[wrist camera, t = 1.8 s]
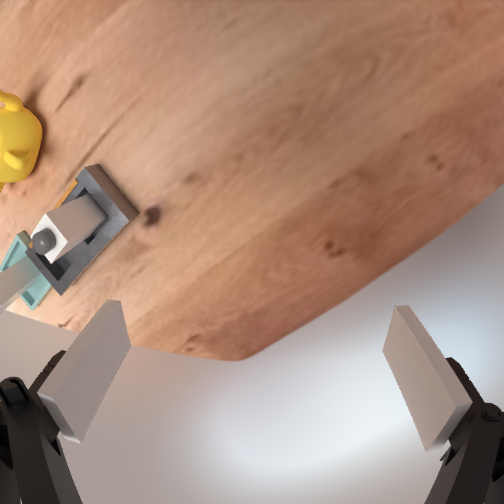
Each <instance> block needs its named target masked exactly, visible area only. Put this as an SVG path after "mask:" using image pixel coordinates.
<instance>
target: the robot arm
mask: <svg viewBox="0 0 504 504" xmlns="http://www.w3.org/2000/svg"><path fill="white" fill-rule="evenodd" d="M130 347H131V344H130V340H129V336H128V332H127V328H126V323H125V319H124V315H123V310H122V306H121V301H115V300H107V301H106V302H105V303H104V304H103V305H102V307H101V308H100V309H99V310H98V312H97V313H96V314H95V315H94V317H93V318H92V319H91V320H90V322H89V323H88V324H87V325H86V327H85V328H84V329H83V330H82V332H81V333H80V334H79V336H78V337H77V338H76V340H75V341H74V342H73V344H72V345H71V346H70V347H69V349H68V350H67V351H64V350H61V351H60V352H59V353H57V354H56V355H54V356H53V357H52V358H51V360H50V361H49V362H48V364H47V366H45V368H44V369H43V372H41V373H40V375H39V376H38V377H37V378H36V380H35V381H34V382H33V384H32V385H31V387H30V388H29V389H27V388H26V386H25V384H24V382H23V381H22V380H21V379H20V378H18V377H9V378H7V379H4V380H3V381H2V382H0V400H1V401H0V504H21V503H20V497H21V501H22V504H83V503H82V501H81V499H80V496H79V494H78V491H77V489H76V487H75V484H74V481H73V479H72V476H71V473H70V471H69V468H68V465H67V462H66V459H65V457H64V453H63V450H62V447H61V444H60V441H59V439H58V437H57V435H58V433H59V431H61V432H62V434H63V435H64V437H65V438H66V439H68V440H71V441H74V442H77V443H82V441H83V439H84V436H85V434H86V432H87V430H88V428H89V426H90V424H91V422H92V420H93V418H94V416H95V414H96V412H97V410H98V408H99V406H100V404H101V402H102V400H103V398H104V396H105V394H106V392H107V390H108V388H109V386H110V384H111V382H112V380H113V379H114V377H115V374H116V373H117V371H118V369H119V367H120V365H121V363H122V362H123V360H124V358H125V356H126V354H127V352H128V350H129V349H130ZM383 353H384V355H385V357H386V359H387V361H388V363H389V366H390V368H391V370H392V372H393V374H394V377H395V379H396V381H397V383H398V386H399V388H400V390H401V392H402V395H403V397H404V399H405V402H406V404H407V406H408V409H409V411H410V413H411V416H412V418H413V421H414V423H415V425H416V428H417V430H418V433H419V435H420V438H421V441H422V443H423V446H424V448H425V451H426V452H429V451H432V450H436V449H439V448H442V447H443V445H444V444H445V443H446V441H447V440H448V439H449V441H450V444H451V446H450V448H449V449H448V450H447V451H446V453H445V454H444V455H443V456H442V458H441V459H440V461H442V460H443V459H444V458H445V459H444V461H443V464H442V466H441V469H440V471H439V473H438V476H437V478H436V480H435V483H434V485H433V487H432V489H431V491H430V493H429V495H428V497H427V500H426V501H425V503H424V504H483V503H484V504H504V412H502V411H501V409H500V408H498V406H496V405H494V404H492V403H485V402H484V401H483V399H482V397H481V396H480V394H479V393H478V391H477V389H476V388H475V387H474V385H473V383H472V382H471V381H470V380H469V377H468V376H467V374H465V371H464V370H463V368H462V367H461V365H460V364H459V363H458V362H457V361H455V360H454V359H453V358H451V357H450V358H445V357H444V356H443V354H442V353H441V351H440V350H439V348H438V347H437V345H436V344H435V342H434V341H433V339H432V338H431V336H430V335H429V334H428V332H427V331H426V329H425V328H424V326H423V325H422V324H421V322H420V321H419V319H418V318H417V317H416V315H415V314H414V312H413V311H412V310H411V308H410V307H409V306H408V305H404V306H395V307H394V311H393V315H392V319H391V323H390V326H389V330H388V334H387V337H386V341H385V345H384V348H383Z"/></svg>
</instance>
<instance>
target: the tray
mask: <svg viewBox="0 0 504 504" xmlns="http://www.w3.org/2000/svg"><path fill="white" fill-rule="evenodd" d="M31 241H32V240H31V239H30V237H29V236H28V235H27V233H26V232H25V231H23V232H21V233H19V234H17V235H16V237H15V239H14V241H13V243H12V245H11V246H10V248H9V250H8V252H7V254H6V256H5V258H4V260H3V262H2V264H1V266H0V271H1V273H2V272H3V271H5V270H6V269H7V268H9V267H10V266H12V265H13V264H15V263H16V262H18V261H19V260H21V259H22V258H24V257H25V256H27V255H26V253H25V251H26V250H27V248H28V246H29V245H30V243H31ZM27 257H28V256H27ZM28 258H29V257H28ZM29 259H30V258H29ZM30 261H31V260H30ZM31 262H32V261H31ZM32 263H33V262H32ZM33 265H34V264H33ZM34 266H35V265H34ZM35 267H36V266H35ZM36 268H37V267H36ZM37 270H38V269H37ZM38 271H39V270H38ZM39 272H40V271H39ZM51 288H52V285H51V284H50V283H49V282H48V281H47V279H46V278H45V277H44V276H43V275H42V273H41V272H40V275H39V276H38V278H37V279H36V281H35V282H34V284H33V285H32V286H31V287H30V288H29V289H28V290H27V291H25V292H24V293H23V294H22V295H21V296H20V297H21V298H22V299H23V301H24V302H25V303H26V304H27V305H28V306H29V308H30V309H31V310H32V311H33V310H34V309H35V308H36V307H37V306H38V305H39V304H40V302H41V301H42V300H43V298H44V297H45V296H46V294H47V293H48V292H49V290H50V289H51Z"/></svg>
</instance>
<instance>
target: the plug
mask: <svg viewBox="0 0 504 504" xmlns="http://www.w3.org/2000/svg"><path fill="white" fill-rule="evenodd" d="M39 275H40V272H39V271H38V270H37V268H36V267H35V266H34V265H33V263H32V262H31V261H30V259H29V258H28V257H27V256H25V257H24V258H22V259H21V260H19V261H18V262H16V263H15V264H13V265H12V266H10V267H9V268H7V269H6V270H5V271H3V272H2V273H0V313H1V312H2V311H3V310H4V309H6V308H7V307H8V306H9V305H10V304H11V303H12V302H14V301H15V300H16V299H17V298H18V297H19V296H21V295H22V294H23V293H24V292H25V291H27V290H28V289H29V288H30V287H31V286H32V285H33V284H34V282H35V281H36V279H37V278H38V276H39Z"/></svg>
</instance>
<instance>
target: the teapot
mask: <svg viewBox="0 0 504 504" xmlns="http://www.w3.org/2000/svg"><path fill="white" fill-rule="evenodd" d="M0 102H4V103H5V106H4V107H0V192H1V190H2V188H3V186H4V185H5V183H6V182H7V183H10V182H19V181H22V180H24V179H25V178H27V177H28V176H29V175H30V173H31V171H32V170H33V168H34V165H35V163H36V160H37V157H38V153H39V149H40V145H41V140H42V126H41V124H40V122H39V120H38V119H37V118H36V116H35V115H34V114H33V113H32V112H30V111H29V110H28V109H26V108H24V107H23V104H22V101H21V100H20V98H19V97H18V96H16V95H14V94H10V93H5V92H2V91H1V90H0Z"/></svg>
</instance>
